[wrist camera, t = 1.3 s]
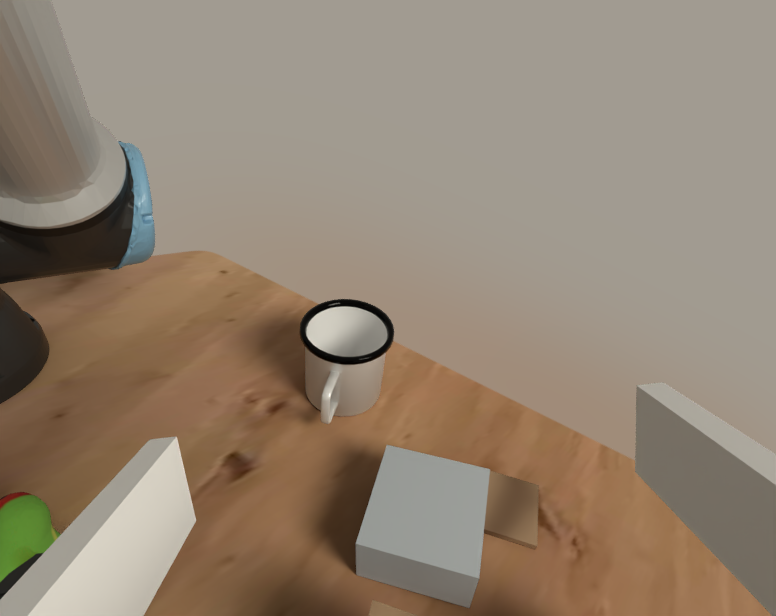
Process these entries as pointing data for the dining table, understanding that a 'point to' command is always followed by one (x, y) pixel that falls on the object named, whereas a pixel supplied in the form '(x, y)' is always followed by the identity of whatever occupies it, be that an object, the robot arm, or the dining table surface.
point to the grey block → (425, 526)
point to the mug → (344, 356)
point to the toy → (23, 530)
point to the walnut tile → (512, 510)
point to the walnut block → (386, 610)
